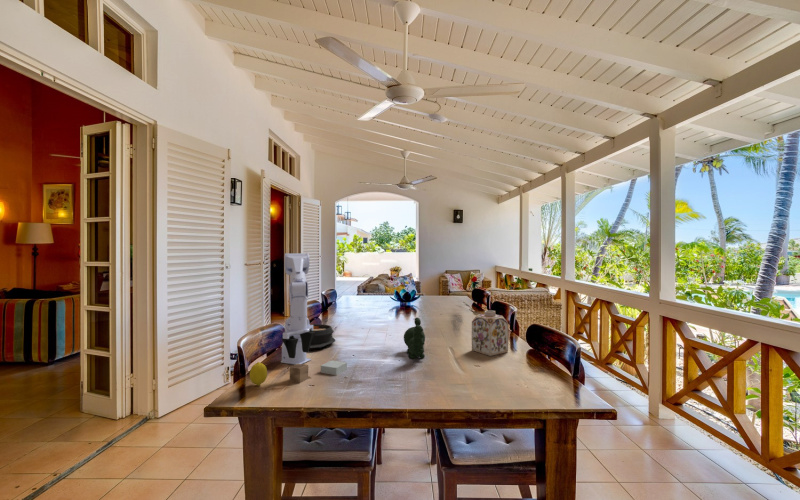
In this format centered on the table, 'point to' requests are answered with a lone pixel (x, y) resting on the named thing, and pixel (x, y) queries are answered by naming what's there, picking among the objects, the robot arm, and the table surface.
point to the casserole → (322, 336)
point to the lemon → (258, 373)
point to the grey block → (333, 367)
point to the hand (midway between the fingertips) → (298, 354)
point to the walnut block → (298, 373)
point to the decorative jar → (490, 334)
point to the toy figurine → (415, 340)
